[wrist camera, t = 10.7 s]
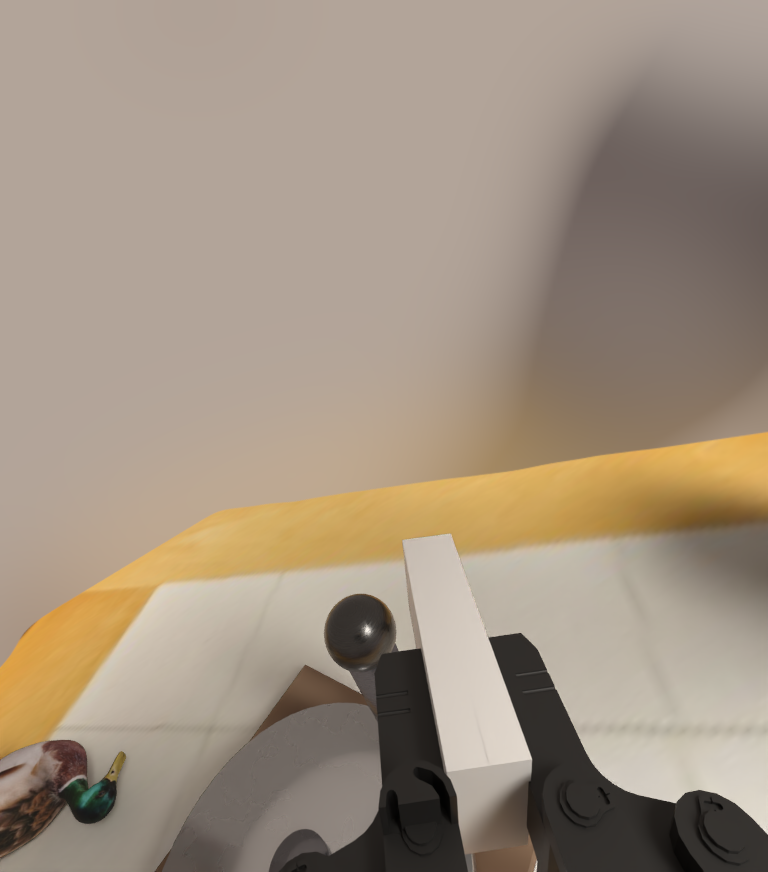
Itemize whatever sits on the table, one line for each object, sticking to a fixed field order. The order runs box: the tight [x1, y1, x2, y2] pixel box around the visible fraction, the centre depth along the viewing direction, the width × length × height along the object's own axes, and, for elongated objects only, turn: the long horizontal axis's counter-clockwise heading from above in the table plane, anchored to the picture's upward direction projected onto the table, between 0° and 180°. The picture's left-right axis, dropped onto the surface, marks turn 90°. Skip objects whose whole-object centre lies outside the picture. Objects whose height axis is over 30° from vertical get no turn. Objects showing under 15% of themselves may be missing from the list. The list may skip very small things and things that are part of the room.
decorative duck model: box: [0, 740, 126, 858], centre depth 38 cm, size 15×8×15 cm
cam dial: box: [162, 594, 477, 872], centre depth 26 cm, size 23×22×19 cm
